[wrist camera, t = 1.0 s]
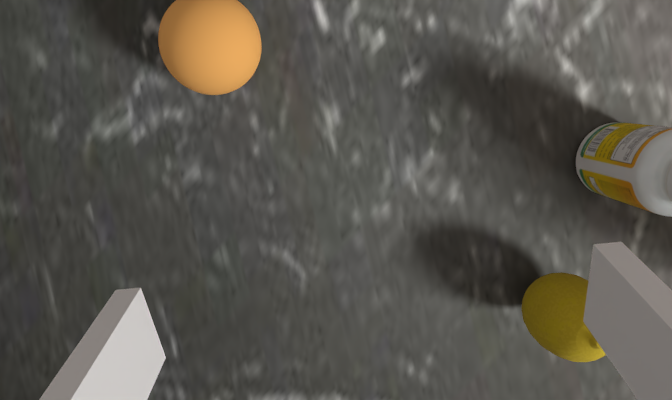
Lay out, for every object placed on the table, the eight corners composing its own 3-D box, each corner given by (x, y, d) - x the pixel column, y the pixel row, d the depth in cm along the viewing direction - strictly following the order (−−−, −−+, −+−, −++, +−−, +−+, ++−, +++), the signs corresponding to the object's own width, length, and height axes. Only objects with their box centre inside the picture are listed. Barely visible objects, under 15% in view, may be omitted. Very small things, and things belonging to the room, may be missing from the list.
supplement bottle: (574, 124, 35) (676, 133, 25) (646, 120, 35) (772, 128, 26) (570, 197, 36) (665, 232, 26) (639, 192, 36) (758, 226, 27)
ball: (218, 113, 33) (200, 117, 27) (154, 44, 31) (120, 31, 26) (283, 53, 32) (279, 44, 26) (220, -20, 31) (201, -47, 25)
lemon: (492, 282, 37) (543, 332, 29) (555, 245, 36) (624, 285, 29) (524, 337, 38) (581, 400, 30) (585, 302, 38) (659, 355, 30)
